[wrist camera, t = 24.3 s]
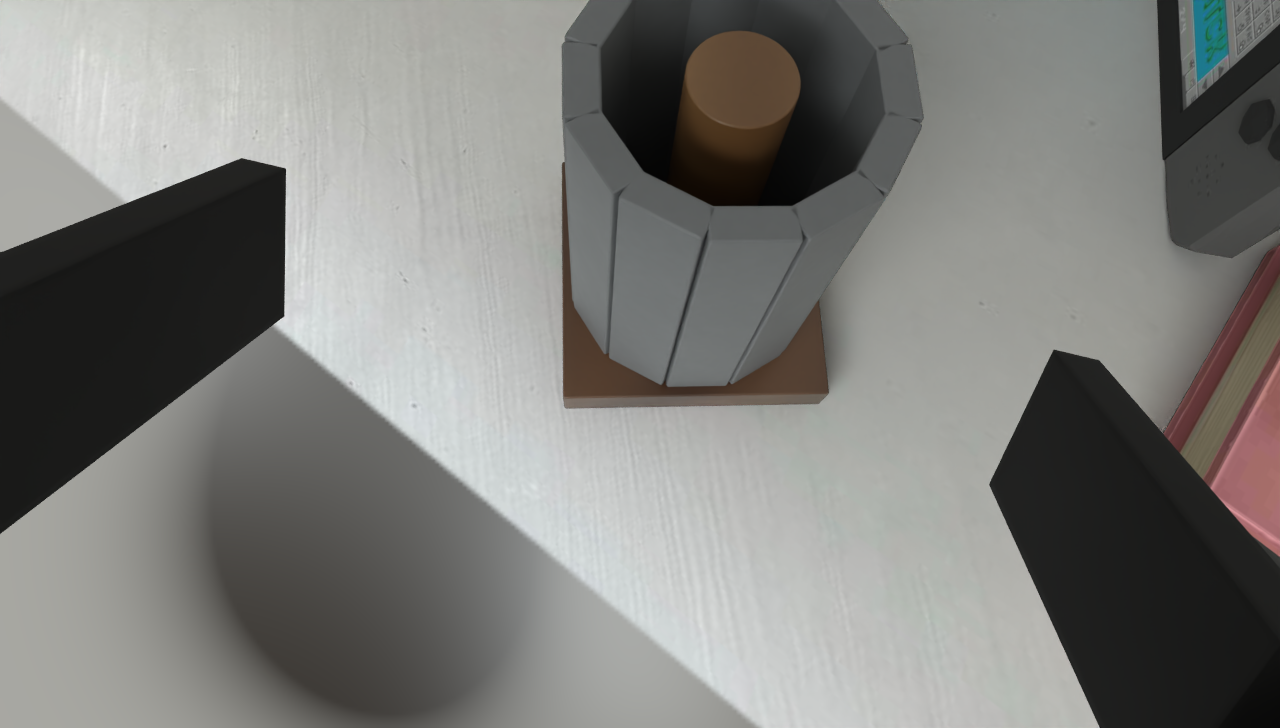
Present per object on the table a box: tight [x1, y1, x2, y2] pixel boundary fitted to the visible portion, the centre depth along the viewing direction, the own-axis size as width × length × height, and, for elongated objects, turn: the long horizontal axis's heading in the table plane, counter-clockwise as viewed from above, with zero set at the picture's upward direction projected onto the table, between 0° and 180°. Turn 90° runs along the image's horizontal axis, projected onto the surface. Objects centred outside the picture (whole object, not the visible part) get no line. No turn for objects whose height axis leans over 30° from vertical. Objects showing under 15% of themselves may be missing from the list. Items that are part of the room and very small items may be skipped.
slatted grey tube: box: [562, 0, 924, 387], centre depth 27 cm, size 9×9×12 cm
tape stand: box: [562, 31, 829, 408], centre depth 28 cm, size 10×10×14 cm
